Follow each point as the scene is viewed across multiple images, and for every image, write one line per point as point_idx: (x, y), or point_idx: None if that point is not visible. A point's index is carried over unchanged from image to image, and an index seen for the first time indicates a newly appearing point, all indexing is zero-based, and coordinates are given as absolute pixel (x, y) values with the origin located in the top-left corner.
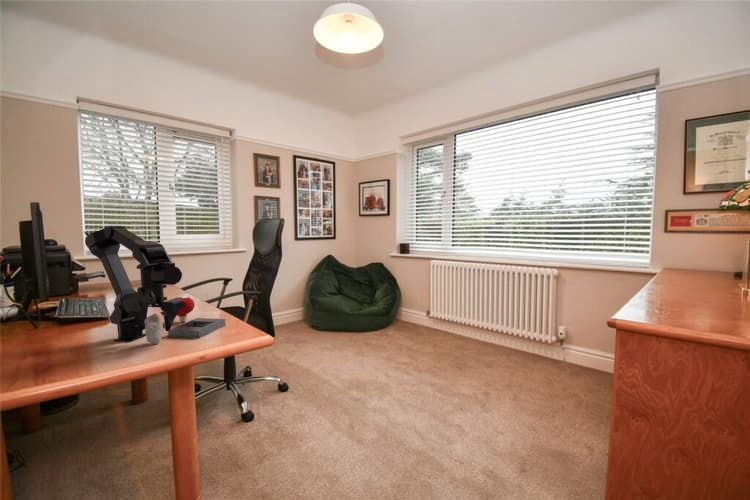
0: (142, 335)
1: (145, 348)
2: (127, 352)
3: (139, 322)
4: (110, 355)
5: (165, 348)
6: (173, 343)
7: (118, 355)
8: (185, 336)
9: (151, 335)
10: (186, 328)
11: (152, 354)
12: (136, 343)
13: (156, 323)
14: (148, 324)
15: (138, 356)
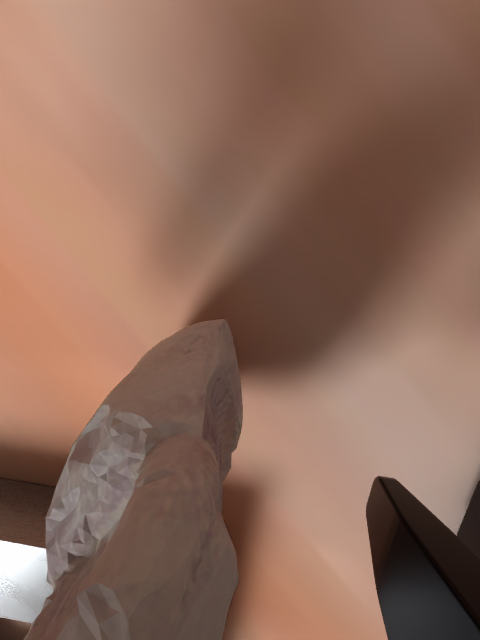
0: (458, 532)
1: (212, 248)
2: (324, 133)
3: (448, 579)
4: (467, 31)
5: (14, 246)
6: (45, 366)
7: (365, 35)
8: (47, 495)
9: (159, 347)
10: (43, 590)
11: (6, 80)
12: (408, 381)
13: (67, 520)
14: (136, 447)
15: (107, 13)
